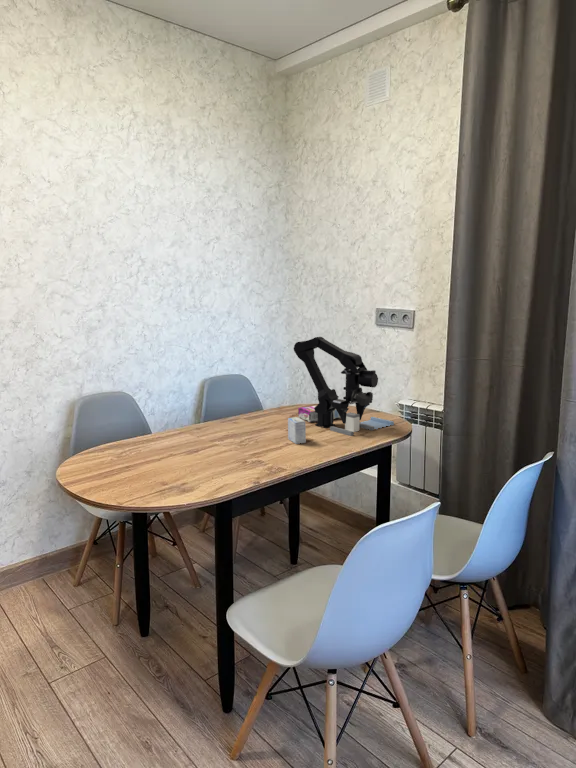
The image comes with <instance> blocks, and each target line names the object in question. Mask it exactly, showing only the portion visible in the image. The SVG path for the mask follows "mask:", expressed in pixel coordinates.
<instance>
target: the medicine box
mask: <svg viewBox="0 0 576 768" xmlns="http://www.w3.org/2000/svg"><path fill="white" fill-rule="evenodd" d="M306 431H307V430H306V420H303V419H301V418H299V417H298V416H296V417H289V418H287V439H288V440H289V441H290V442H292V443H293V444H295V445H298V444H299V445H300V443H301V444H306V443H307V441H306V440H307V437H306V435H307V434H306V433H307V432H306Z"/></svg>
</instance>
